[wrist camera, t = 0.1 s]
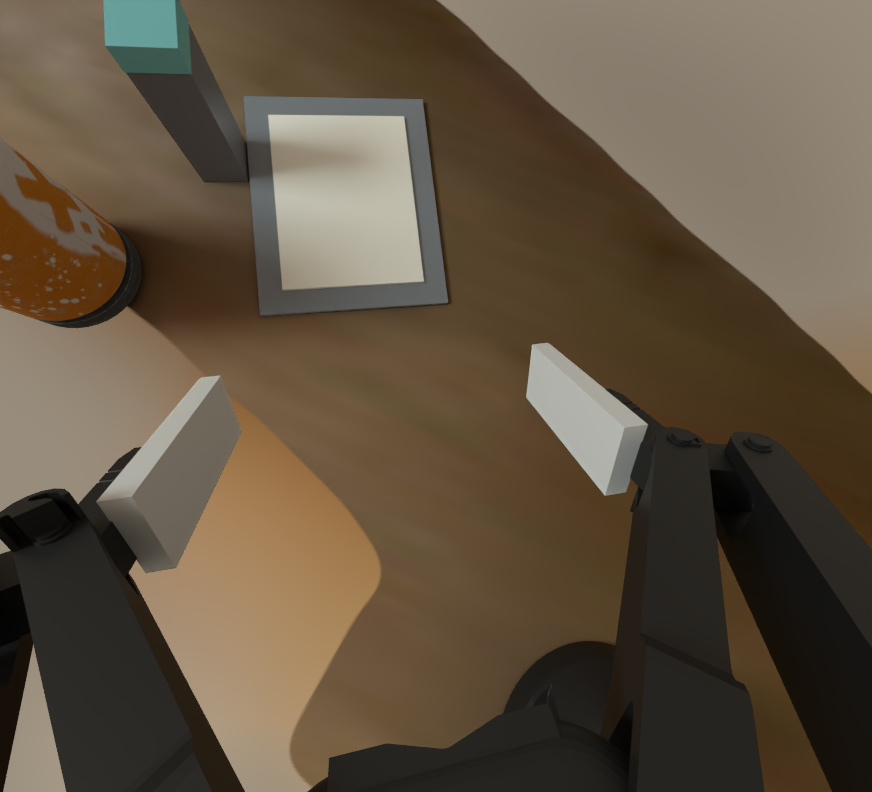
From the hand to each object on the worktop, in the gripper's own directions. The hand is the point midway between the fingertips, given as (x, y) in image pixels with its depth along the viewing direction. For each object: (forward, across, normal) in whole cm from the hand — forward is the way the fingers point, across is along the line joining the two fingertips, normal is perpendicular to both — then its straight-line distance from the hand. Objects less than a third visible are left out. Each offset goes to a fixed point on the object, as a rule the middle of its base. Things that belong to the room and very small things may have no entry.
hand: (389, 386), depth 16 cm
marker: (+26, +12, -10) cm, 30 cm away
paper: (+24, +2, -6) cm, 25 cm away
